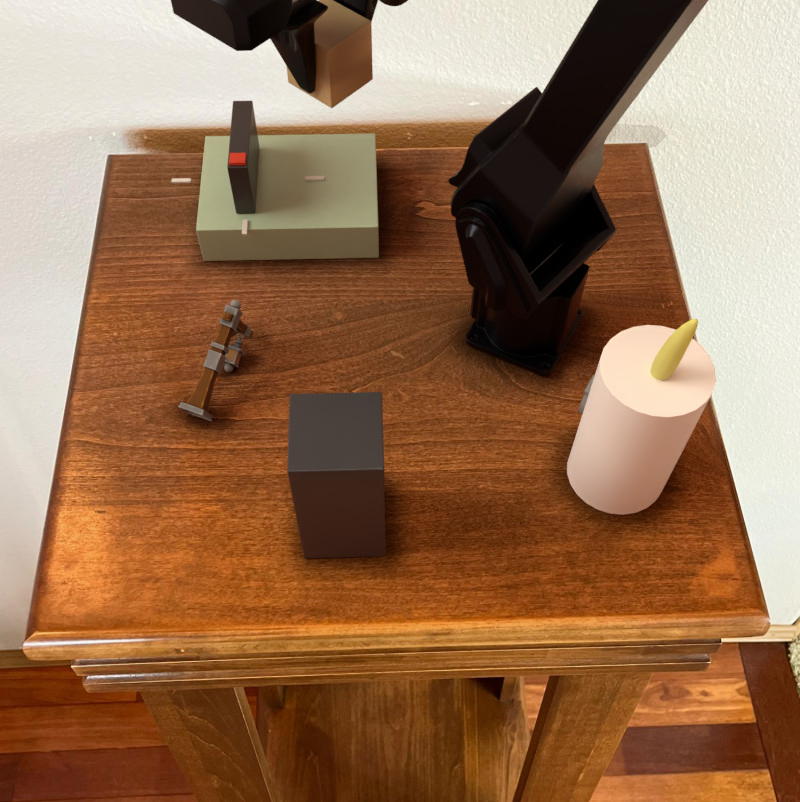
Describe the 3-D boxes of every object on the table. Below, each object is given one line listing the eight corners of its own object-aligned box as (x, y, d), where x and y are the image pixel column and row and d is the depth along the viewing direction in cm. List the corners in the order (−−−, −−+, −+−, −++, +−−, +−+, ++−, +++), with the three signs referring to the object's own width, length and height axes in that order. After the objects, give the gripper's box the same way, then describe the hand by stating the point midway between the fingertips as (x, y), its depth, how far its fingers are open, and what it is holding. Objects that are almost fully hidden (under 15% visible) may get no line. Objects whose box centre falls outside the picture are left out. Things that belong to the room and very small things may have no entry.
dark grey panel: (241, 147, 68) (232, 97, 64) (259, 147, 68) (252, 97, 64) (236, 213, 65) (226, 164, 61) (255, 213, 65) (247, 164, 61)
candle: (585, 416, 60) (639, 248, 47) (678, 455, 59) (760, 293, 46) (548, 488, 58) (594, 331, 44) (644, 530, 56) (721, 381, 43)
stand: (383, 486, 58) (381, 391, 49) (385, 556, 55) (384, 469, 46) (305, 488, 57) (289, 393, 49) (303, 558, 55) (287, 471, 46)
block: (329, 54, 61) (325, -5, 57) (373, 79, 60) (371, 20, 56) (287, 82, 59) (281, 23, 56) (332, 109, 58) (328, 50, 55)
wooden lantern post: (266, 322, 63) (245, 299, 58) (225, 429, 62) (201, 414, 58) (243, 315, 63) (220, 291, 59) (202, 421, 63) (176, 405, 58)
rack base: (375, 160, 72) (375, 125, 69) (379, 263, 67) (378, 231, 64) (186, 163, 72) (177, 129, 69) (174, 268, 66) (164, 235, 64)
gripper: (295, -75, 40) (321, 207, 53) (549, -226, 46) (514, 59, 60) (128, -162, 43) (192, 124, 57) (387, -291, 50) (388, -7, 63)
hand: (330, 74), depth 59 cm, fingers closed on block, 4 cm apart
